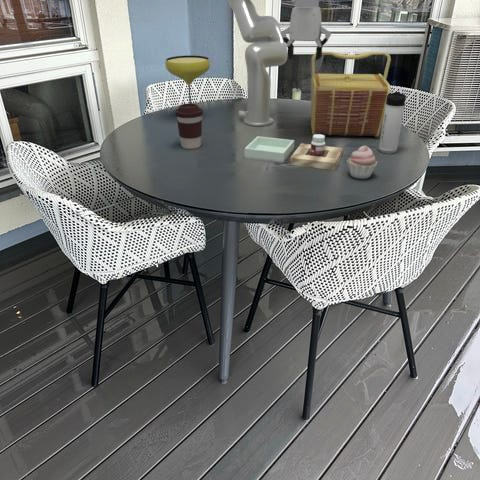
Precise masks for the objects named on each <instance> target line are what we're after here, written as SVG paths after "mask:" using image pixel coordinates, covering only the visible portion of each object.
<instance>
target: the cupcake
mask: <svg viewBox="0 0 480 480" xmlns="http://www.w3.org/2000/svg"><path fill="white" fill-rule="evenodd" d="M346 162H347V165H348V169H349V174H350V177H352V178H354V179H358V180H359V179H360V180H367V179H369V178H370V177H371V175H372V173H373V172H374V171H373V170H374V169H375V167H376V166H377V165H378V161H376V157H375V154H374V152H373V151H372V149H371V148H369V146H367V145H361V146H360V147H359V148H358V149H357V150H354V151H353V152H352V153H351V155H350V157H348V159H347V160H346Z"/></svg>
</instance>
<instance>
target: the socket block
mask: <svg viewBox="0 0 480 480" xmlns="http://www.w3.org/2000/svg"><path fill="white" fill-rule="evenodd" d="M310 152H311V143H310V144H309V143H300V144H299V146H298V147H297V148H296V150H295V151H294V152H293V154H291V156H290V160H289V165H291V166H298V167H299V166H300V167H305V168H306V167H307V168H313V169H321V170H331V171H335V170H336V168H337V167H338V164H339V162H340V160H341V158H342V156H343V153H344V147H336V146H329V145H325V153H324V157H318V156H310Z"/></svg>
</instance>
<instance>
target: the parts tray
mask: <svg viewBox="0 0 480 480" xmlns="http://www.w3.org/2000/svg"><path fill="white" fill-rule="evenodd" d="M294 150H295V140H294V139H285V138H276V137H267V136H260V135H258V136H257V135H256V137H254V139H253V140H252V141H250V143H249V144H247V146H246V147H245V148H244V159H247V160H248V159H249V160H256V161H264V162H273V163H277V164H284V163H285V161H286V160H287V159H288V158H289V156H290V155H292V153H293V151H294Z"/></svg>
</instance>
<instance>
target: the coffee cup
mask: <svg viewBox="0 0 480 480" xmlns="http://www.w3.org/2000/svg"><path fill="white" fill-rule="evenodd" d="M174 112H175V113H174V114H175V117H176V118H177V120H176V121H177V128H178V129H177V130H178V136H179V137H180V139H179V140H180V145H181V148H183V149H186V150H196V149H199V148H200V147H201V146H202V145H201V144H202V136H203V134H202V131H203V130H202V129H203V123H202V122H203V121H202V119H201V117H202V116H203V114H204V110H203V109H202V107H200V106H199V105H198V104H196V103H192V102H191V103H183V104H179V106H178V107H177V108H176V109H175V110H174Z"/></svg>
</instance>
